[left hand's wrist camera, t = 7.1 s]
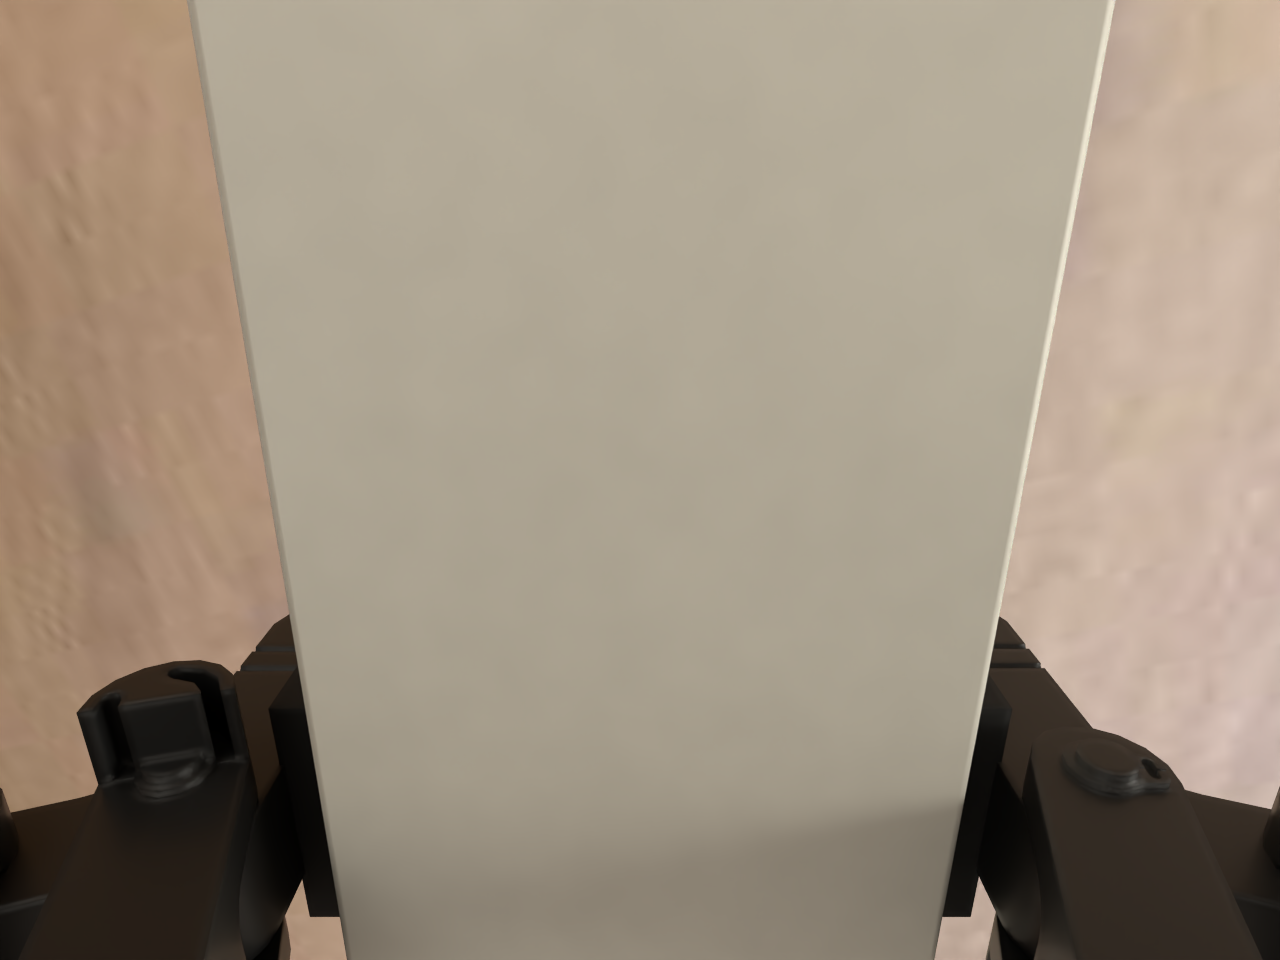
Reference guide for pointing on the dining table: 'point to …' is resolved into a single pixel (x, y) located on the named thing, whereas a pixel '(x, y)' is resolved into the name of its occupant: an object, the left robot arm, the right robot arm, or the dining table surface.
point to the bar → (646, 443)
